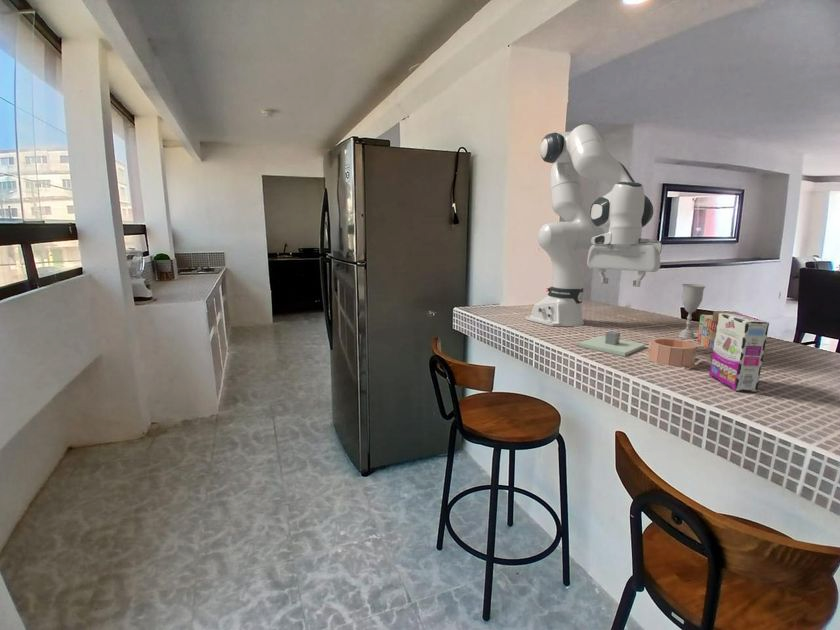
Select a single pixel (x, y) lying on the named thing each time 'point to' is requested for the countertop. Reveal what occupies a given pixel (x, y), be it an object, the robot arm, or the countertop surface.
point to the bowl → (672, 352)
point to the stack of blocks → (709, 328)
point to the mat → (616, 354)
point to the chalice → (691, 305)
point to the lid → (612, 344)
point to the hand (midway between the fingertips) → (620, 285)
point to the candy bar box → (738, 351)
